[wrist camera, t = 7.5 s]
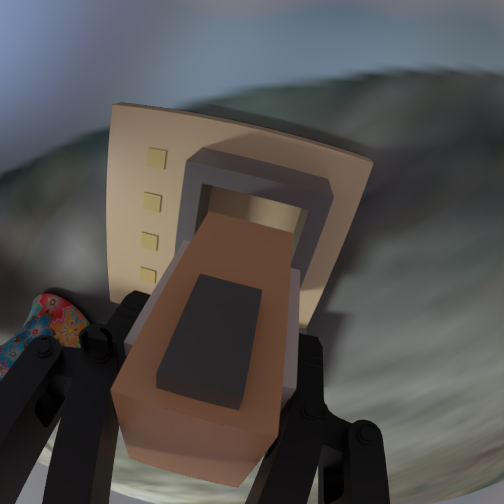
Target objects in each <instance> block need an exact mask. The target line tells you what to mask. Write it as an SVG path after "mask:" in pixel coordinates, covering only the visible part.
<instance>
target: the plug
mask: <svg viewBox="0 0 504 504" xmlns="http://www.w3.org/2000/svg"><path fill="white" fill-rule="evenodd" d="M291 252H292V232H288V231H284V230H280V229H277V228H273V227H269V226H265V225H261V224H257V223H253V222H250V221H246V220H242V219H238V218H234V217H230V216H226V215H222V214H218V213H214V212H210V211H209V212H208V214H207V215H206V217H205V219H204V220H203V222H202V224H201V225H200V227H199V229H198V230H197V232H196V234H195V235H194V237H193V239H192V240H191V242H190V244H189V246H188V247H187V249H186V251H185V252H184V254H183V256H182V258H181V259H180V261H179V263H178V264H177V266H176V268H175V270H174V271H173V273H172V275H171V277H170V278H169V280H168V282H167V284H166V286H165V287H164V289H163V291H162V293H161V295H160V296H159V298H158V300H157V302H156V304H155V305H154V307H153V309H152V311H151V313H150V315H149V316H148V318H147V320H146V322H145V324H144V326H143V327H142V329H141V331H140V333H139V335H138V337H137V339H136V341H135V343H134V344H133V346H132V348H131V350H130V352H129V354H128V356H127V358H126V360H125V362H124V364H123V366H122V368H121V370H120V372H119V374H118V376H117V378H116V380H115V382H114V384H113V386H112V388H111V390H110V391H111V395H112V399H113V403H114V407H115V410H116V414H117V418H118V422H119V425H120V429H121V432H122V435H123V439H124V442H125V445H126V448H127V452H128V455H129V458H132V459H135V460H137V461H140V462H143V463H146V464H149V465H152V466H155V467H158V468H161V469H165V470H168V471H171V472H175V473H178V474H182V475H186V476H189V477H193V478H197V479H201V480H205V481H210V482H214V483H219V484H223V485H228V486H233V487H239V486H240V485H241V483H242V482H243V481H244V480H245V479H246V477H247V476H248V475H249V473H250V472H251V471H252V470H253V468H254V467H255V466H256V465H257V463H258V462H259V461H260V459H261V458H262V457H263V455H264V454H265V453H266V451H267V450H268V449H269V447H270V446H271V445H272V443H273V442H274V441H275V439H276V438H277V437H278V428H279V418H280V408H281V397H282V386H283V374H284V362H285V349H286V335H287V321H288V306H289V289H290V271H291Z"/></svg>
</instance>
